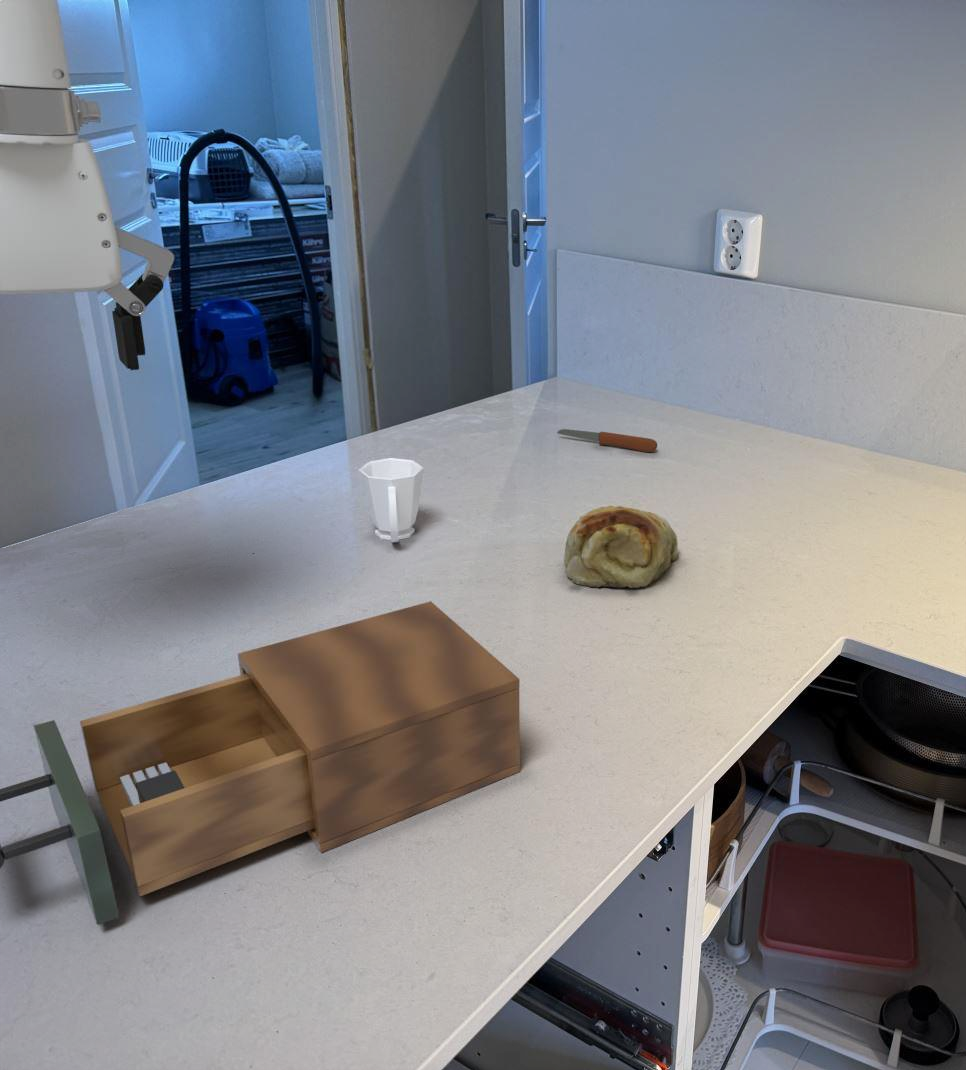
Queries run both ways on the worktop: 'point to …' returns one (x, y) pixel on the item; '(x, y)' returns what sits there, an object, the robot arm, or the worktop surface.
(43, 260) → the robot arm
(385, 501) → the cup
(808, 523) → the worktop surface
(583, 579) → the pastry
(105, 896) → the drawer
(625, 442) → the kitchen knife
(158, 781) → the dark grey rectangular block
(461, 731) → the cabinet
